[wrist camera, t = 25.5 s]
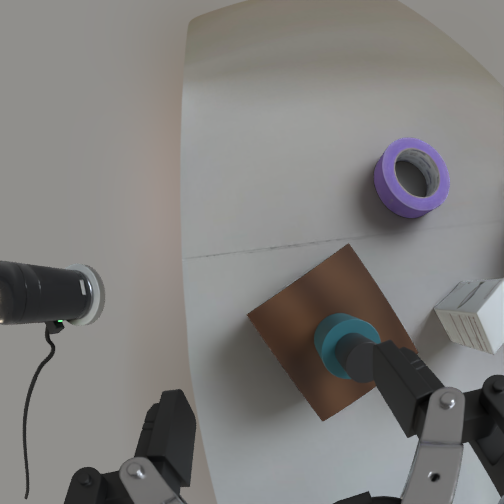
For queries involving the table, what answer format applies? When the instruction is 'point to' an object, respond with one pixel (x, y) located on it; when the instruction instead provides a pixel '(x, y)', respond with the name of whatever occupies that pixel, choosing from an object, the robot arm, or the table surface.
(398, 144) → the tape roll
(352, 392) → the brown wooden box
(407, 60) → the table surface
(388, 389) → the robot arm
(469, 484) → the table surface
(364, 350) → the teal and black cylinder
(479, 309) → the white packaging box
